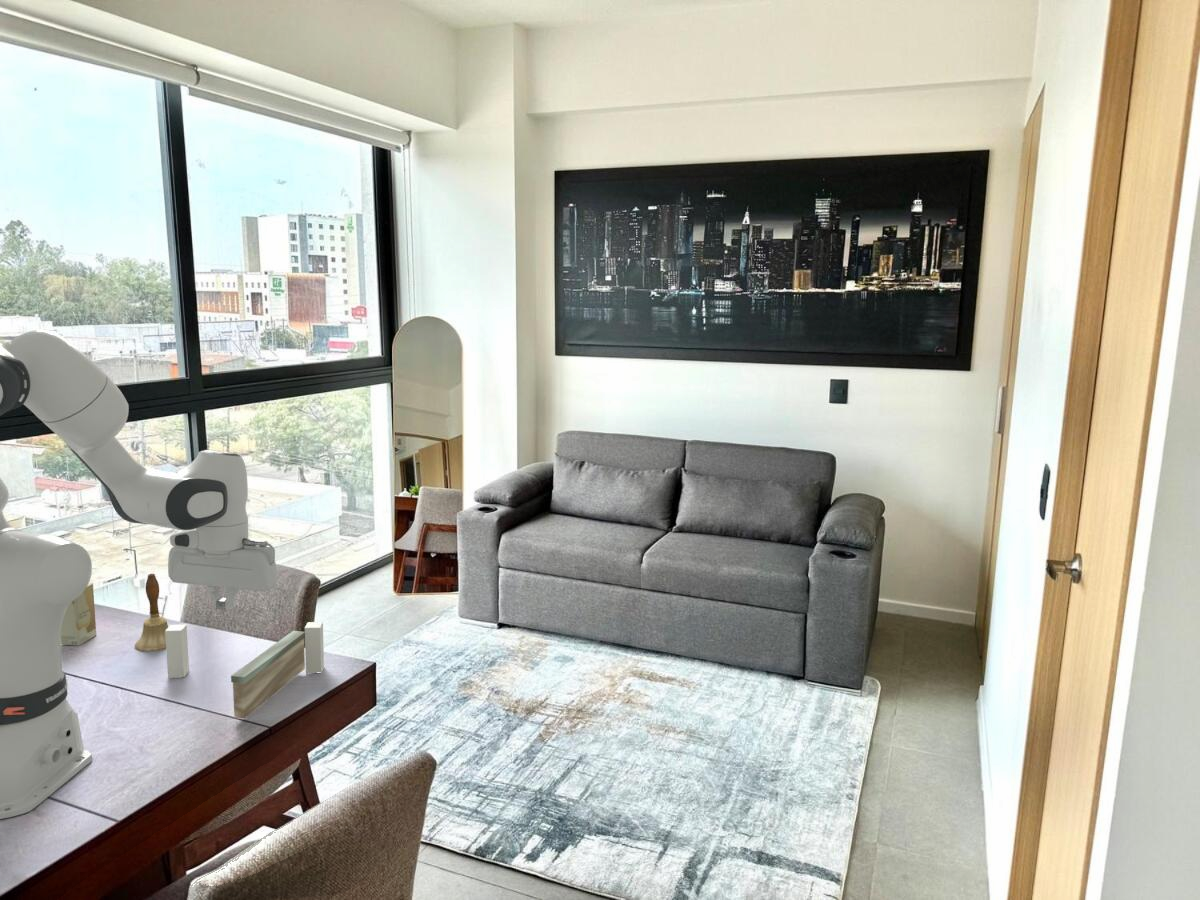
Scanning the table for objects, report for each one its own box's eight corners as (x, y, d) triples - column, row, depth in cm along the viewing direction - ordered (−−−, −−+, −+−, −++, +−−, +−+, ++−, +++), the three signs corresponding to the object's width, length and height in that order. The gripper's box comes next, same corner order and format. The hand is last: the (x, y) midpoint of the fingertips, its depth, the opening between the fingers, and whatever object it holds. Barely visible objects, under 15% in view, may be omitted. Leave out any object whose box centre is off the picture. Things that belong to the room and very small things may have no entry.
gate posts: (321, 673, 169) (320, 627, 167) (168, 678, 164) (165, 630, 163) (324, 667, 172) (322, 621, 170) (173, 671, 167) (170, 624, 166)
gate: (306, 668, 168) (305, 631, 167) (246, 719, 148) (244, 677, 146) (294, 667, 169) (293, 630, 167) (232, 717, 148) (231, 675, 147)
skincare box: (79, 646, 178) (75, 592, 175) (59, 645, 178) (55, 591, 176) (98, 634, 184) (94, 582, 182) (78, 633, 184) (74, 581, 182)
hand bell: (174, 649, 178) (169, 578, 175) (130, 653, 175) (125, 581, 172) (180, 634, 185) (176, 566, 183) (139, 638, 183) (134, 569, 180)
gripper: (283, 537, 153) (284, 608, 155) (184, 528, 156) (186, 598, 158) (264, 545, 147) (265, 619, 149) (161, 536, 150) (163, 608, 152)
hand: (223, 608), depth 154 cm, fingers closed
